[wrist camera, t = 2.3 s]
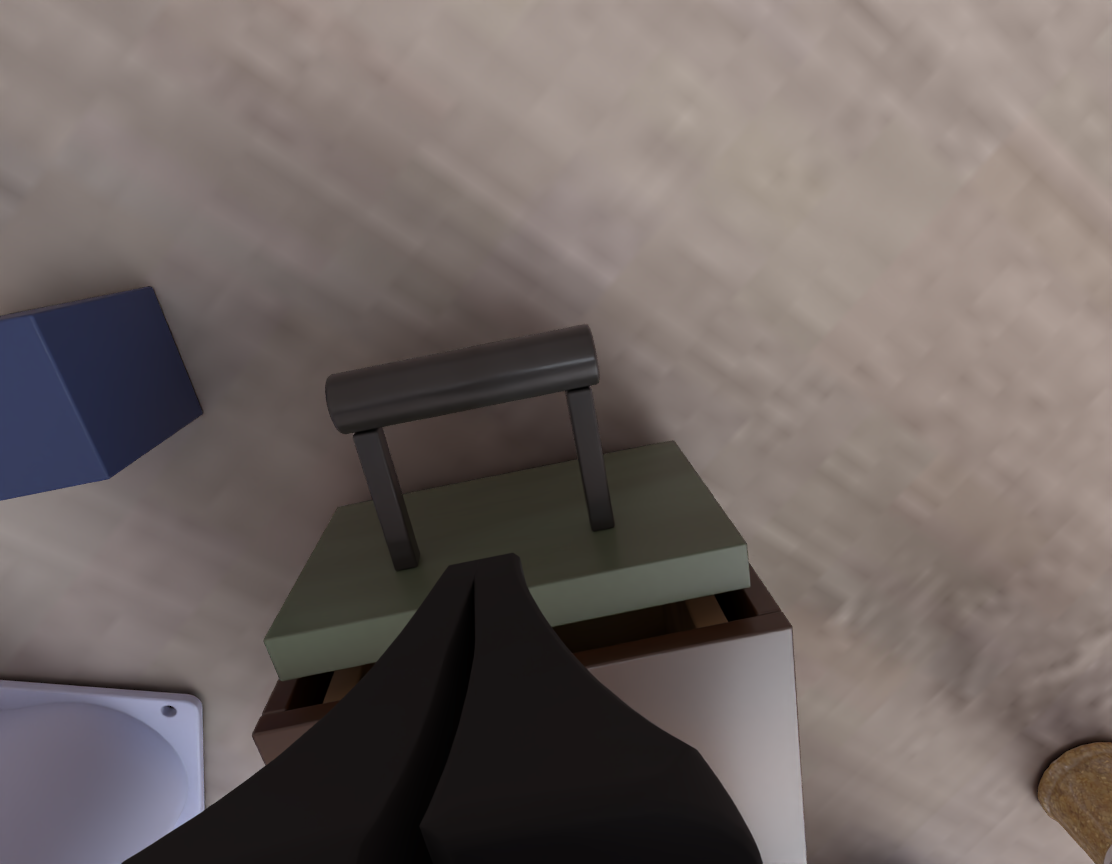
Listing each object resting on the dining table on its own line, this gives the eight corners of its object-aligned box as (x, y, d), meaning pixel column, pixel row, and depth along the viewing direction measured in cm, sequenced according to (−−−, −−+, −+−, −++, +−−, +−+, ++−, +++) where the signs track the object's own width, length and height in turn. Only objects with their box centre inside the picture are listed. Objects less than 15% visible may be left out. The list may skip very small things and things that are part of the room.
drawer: (284, 353, 18) (172, 428, 12) (653, 280, 19) (727, 318, 12) (432, 786, 24) (408, 983, 18) (711, 729, 25) (780, 907, 18)
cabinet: (341, 546, 22) (250, 735, 14) (691, 476, 22) (793, 625, 14) (437, 819, 26) (407, 1076, 18) (725, 761, 26) (816, 992, 19)
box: (204, 414, 20) (109, 479, 15) (65, 441, 20) (-74, 515, 15) (152, 285, 18) (30, 313, 14) (3, 315, 18) (-171, 353, 14)
